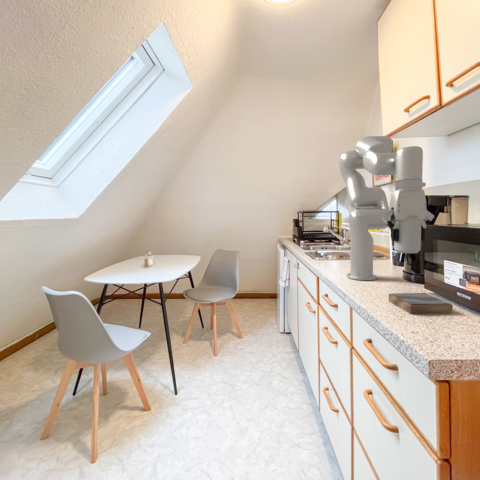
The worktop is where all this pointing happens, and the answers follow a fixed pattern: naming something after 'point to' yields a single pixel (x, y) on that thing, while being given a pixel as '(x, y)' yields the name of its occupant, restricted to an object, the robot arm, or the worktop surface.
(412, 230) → the can
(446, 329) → the worktop surface
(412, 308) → the plinth
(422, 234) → the robot arm
